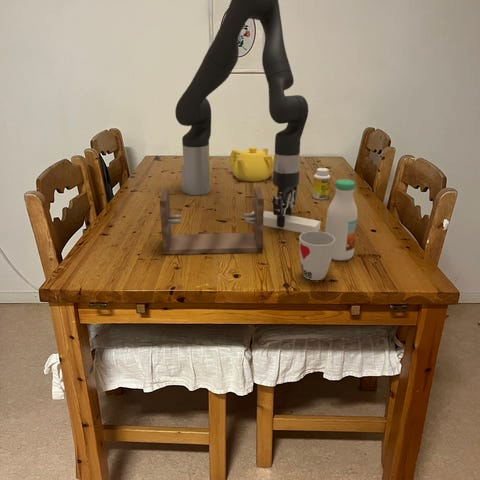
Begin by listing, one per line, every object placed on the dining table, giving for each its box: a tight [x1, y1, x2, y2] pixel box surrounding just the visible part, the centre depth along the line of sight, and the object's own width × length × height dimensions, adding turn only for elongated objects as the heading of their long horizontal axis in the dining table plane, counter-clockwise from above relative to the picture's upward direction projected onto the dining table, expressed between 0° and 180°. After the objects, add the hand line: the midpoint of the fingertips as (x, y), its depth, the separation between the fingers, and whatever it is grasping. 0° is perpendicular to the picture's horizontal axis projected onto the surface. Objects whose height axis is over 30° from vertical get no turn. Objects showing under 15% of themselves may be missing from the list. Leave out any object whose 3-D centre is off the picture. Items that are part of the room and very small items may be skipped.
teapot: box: [228, 146, 275, 183], centre depth 183 cm, size 17×17×12 cm
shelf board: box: [248, 210, 322, 234], centre depth 139 cm, size 21×5×3 cm, turn 62°
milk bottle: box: [324, 178, 359, 261], centre depth 118 cm, size 8×8×20 cm
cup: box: [298, 230, 335, 281], centre depth 109 cm, size 8×8×10 cm
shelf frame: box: [159, 186, 265, 255], centre depth 123 cm, size 26×10×15 cm, turn 94°
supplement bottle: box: [312, 167, 331, 201], centre depth 161 cm, size 6×6×10 cm
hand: (284, 223), depth 139 cm, fingers closed on shelf board, 5 cm apart
